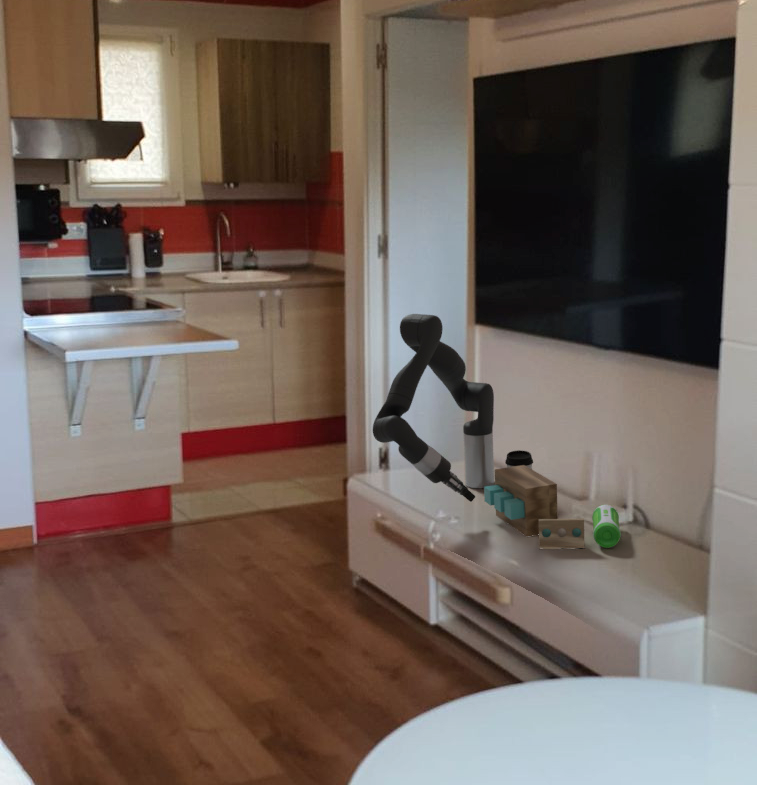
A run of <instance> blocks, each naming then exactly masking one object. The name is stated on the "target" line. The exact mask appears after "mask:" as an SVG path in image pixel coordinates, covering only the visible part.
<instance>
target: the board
mask: <svg viewBox="0 0 757 785" xmlns="http://www.w3.org/2000/svg"><path fill="white" fill-rule="evenodd" d="M538 547H539V548H543V549H542V550H559V549H558V548H585V518H558V519H539V535H538ZM539 548H538V549H539ZM585 549H586V548H585Z"/></svg>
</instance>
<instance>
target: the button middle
mask: <svg viewBox="0 0 757 785" xmlns="http://www.w3.org/2000/svg"><path fill="white" fill-rule="evenodd" d="M508 499H514V495H513V494H512V493H510V492H509V491H506V492H499V493H494V505H493V506H494V509H495V511H496V510H498V511H499V512H505V511H504V500H508Z"/></svg>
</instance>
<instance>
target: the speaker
mask: <svg viewBox="0 0 757 785" xmlns="http://www.w3.org/2000/svg"><path fill="white" fill-rule="evenodd" d="M619 516H620V515H619V513H618V511H617V510H616V508H615V507H613V506H611V505H610V504H601V505H599V506H597V507H596V508H595V509H594V511H593V513H592V517H591V520H592V525H593V526H592V527H593V532H592V537H593V539H594V541H595V542H596V544H598V545H599V547H601V548H605V549H607V548H608V549H609V548H614V547H615V546H616V545H617V544H618V543H619V541H620V540H621V537H622V534H621V532H622V531H621V528H620V523H619V522H620V520H619V518H620V517H619Z"/></svg>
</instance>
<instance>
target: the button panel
mask: <svg viewBox="0 0 757 785" xmlns="http://www.w3.org/2000/svg"><path fill="white" fill-rule="evenodd" d="M494 485H499V486H501V487H502V488H503V491H504V492H506V491H509V492H510V493H512V494H513V495H514V499H515V498H519V499H521V500H523V501H524V505H525V518H519V519H513V520H511V519H509V518H508V517H507V516H505V512H499V511H498V510H496V509H495V516H497V517H498V518H499V519H500V520H502V521H504V523H506V524H508V526H511V527H512V528H514V529H515V530H517V531H518V532H519V533H520V532H521V534H522V535H523V534H524V535H523V536H524V537H526V536H531V537H533V536H532V535H536V536H539V535H538V534H539V519H559V518H558V516H559V515H558V483H556V482H554V481H552V480H551V479H549V478H548V477H546V476H545V475H543V474H540V473H539V472H537V471H535V470H534V469H533V468H532V469H530V468H528V467H527V466H525V465H521V466H514V467H508V468H507V467H503V468H494Z"/></svg>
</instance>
